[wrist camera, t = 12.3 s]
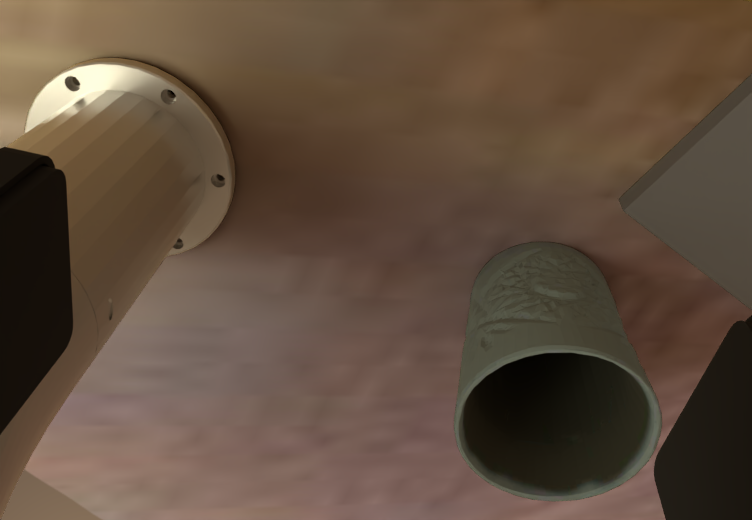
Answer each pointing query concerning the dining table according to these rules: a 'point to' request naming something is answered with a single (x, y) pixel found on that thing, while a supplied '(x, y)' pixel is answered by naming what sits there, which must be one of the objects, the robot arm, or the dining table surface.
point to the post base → (706, 195)
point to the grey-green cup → (551, 380)
